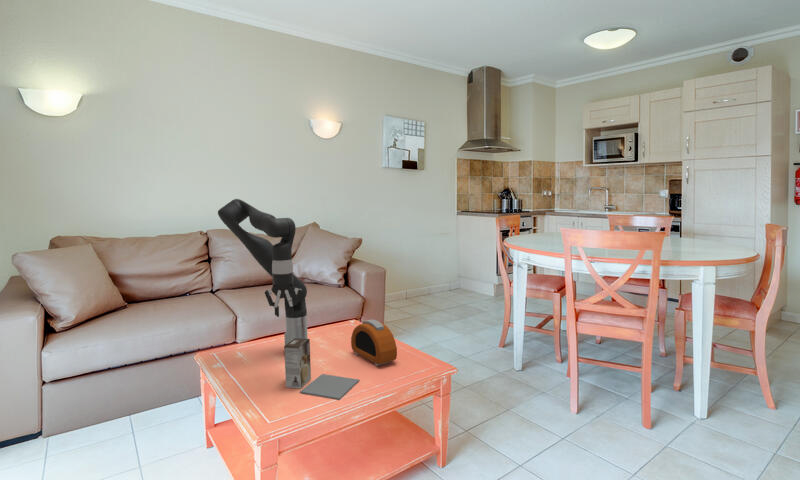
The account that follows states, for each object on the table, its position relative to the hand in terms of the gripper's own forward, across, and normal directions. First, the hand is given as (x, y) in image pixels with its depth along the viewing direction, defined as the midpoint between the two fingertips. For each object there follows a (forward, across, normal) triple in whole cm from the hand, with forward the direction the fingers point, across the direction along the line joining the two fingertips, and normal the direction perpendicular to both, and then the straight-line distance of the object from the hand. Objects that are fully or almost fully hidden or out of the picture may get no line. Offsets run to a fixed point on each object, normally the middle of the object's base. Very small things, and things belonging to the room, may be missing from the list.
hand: (284, 315), depth 165 cm
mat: (+25, +16, -10) cm, 32 cm away
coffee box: (+25, +5, -4) cm, 26 cm away
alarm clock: (+26, +35, +15) cm, 46 cm away
